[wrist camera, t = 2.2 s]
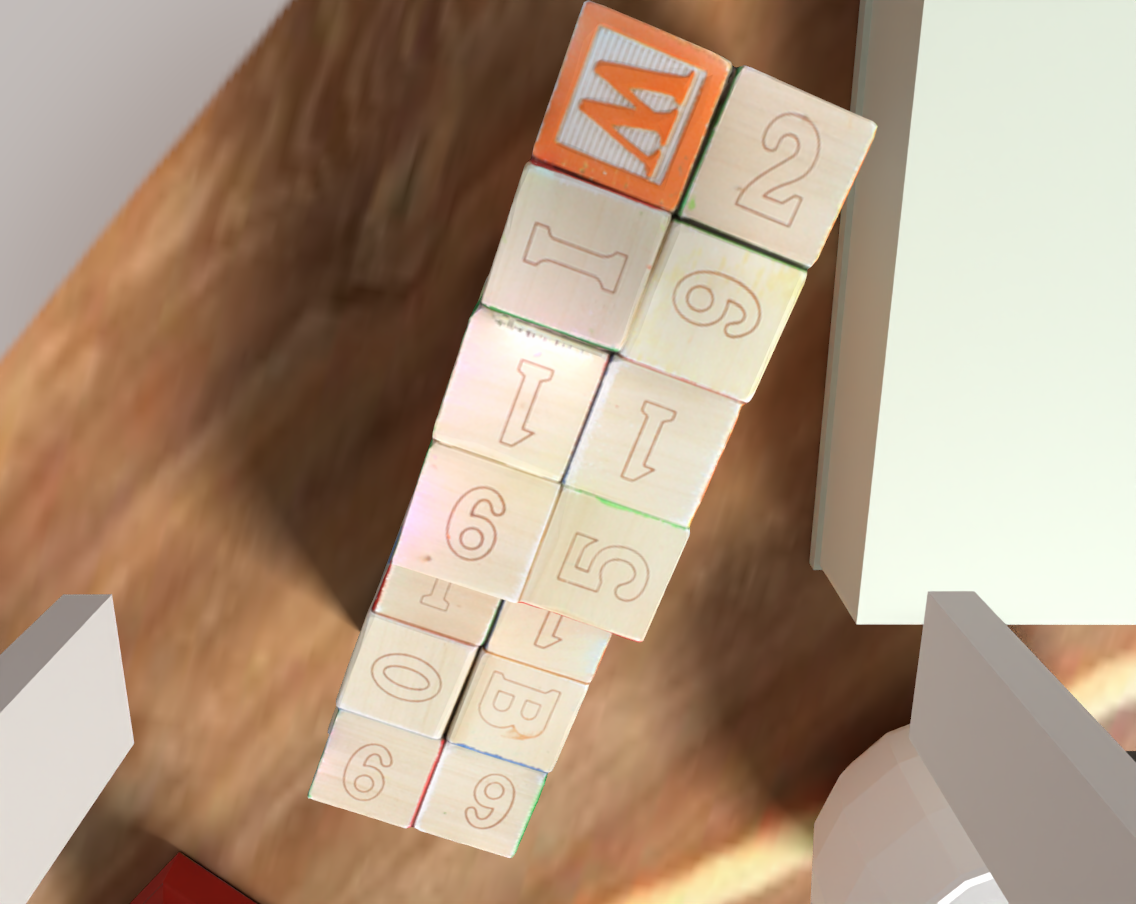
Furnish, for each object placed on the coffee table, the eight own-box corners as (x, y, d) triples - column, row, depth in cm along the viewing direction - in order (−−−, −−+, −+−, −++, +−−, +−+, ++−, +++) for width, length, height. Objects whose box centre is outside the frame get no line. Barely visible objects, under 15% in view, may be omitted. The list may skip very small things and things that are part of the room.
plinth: (1214, -233, 28) (1351, -310, 23) (1071, 563, 35) (1152, 630, 30) (881, -237, 27) (949, -316, 23) (809, 562, 35) (849, 630, 30)
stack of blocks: (521, 689, 37) (505, 950, 25) (360, 635, 36) (265, 878, 24) (761, 126, 31) (890, 120, 19) (574, 47, 30) (587, -11, 18)
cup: (803, 947, 40) (876, 1188, 31) (750, 692, 37) (816, 879, 27) (1104, 888, 40) (1271, 1116, 30) (1082, 621, 36) (1264, 789, 27)
